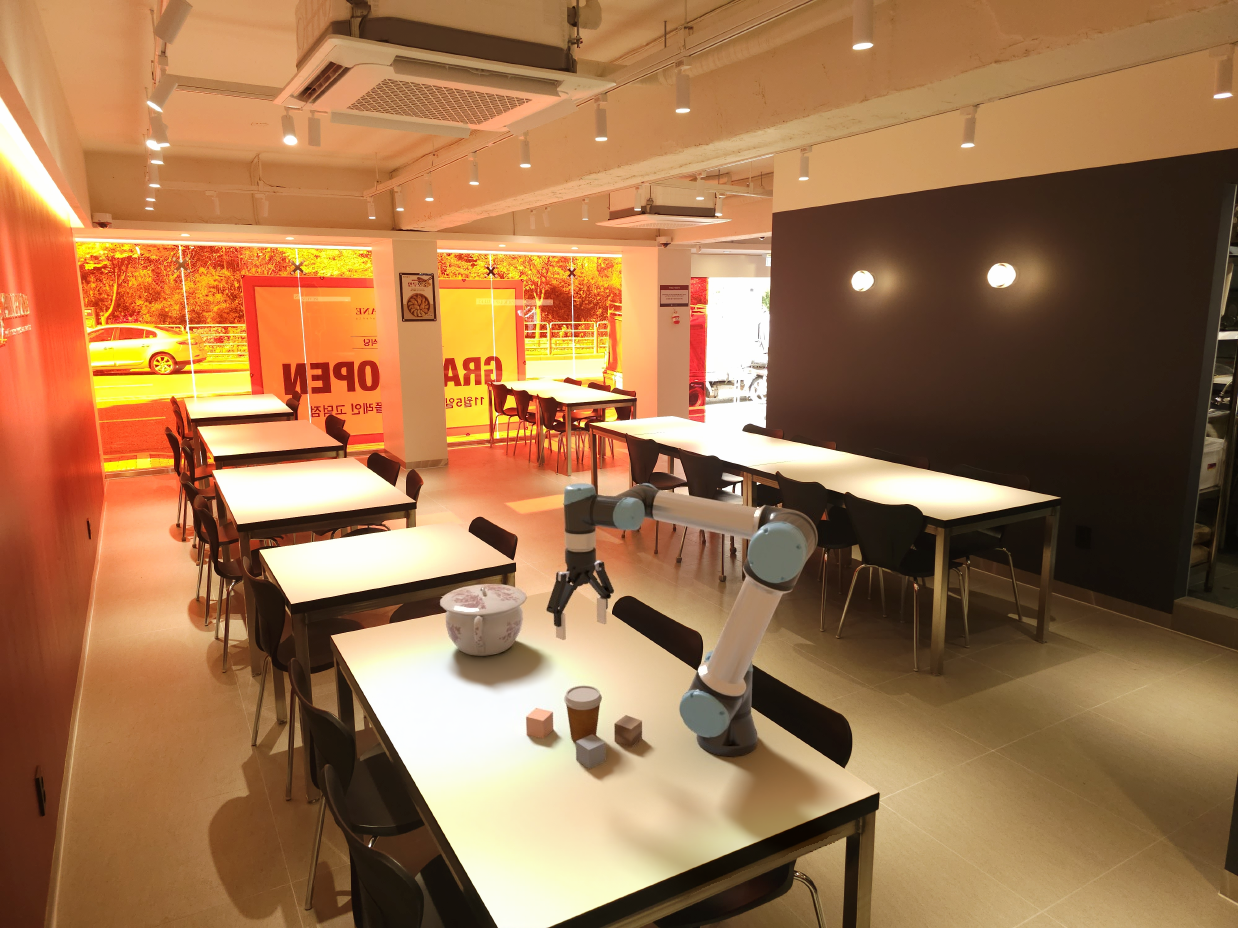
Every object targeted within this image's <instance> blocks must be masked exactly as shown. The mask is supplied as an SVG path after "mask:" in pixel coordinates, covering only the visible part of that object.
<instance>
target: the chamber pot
mask: <svg viewBox="0 0 1238 928" xmlns="http://www.w3.org/2000/svg"><path fill="white" fill-rule="evenodd" d="M527 599H528V597H527V593H526V592H525V591H523V590H522V589H520V588H519V587H516V586H512V585H507V584H501V583H500V584H497V583H496V584H495V583H485V584H484V583H483V584H474V585H468V586H463V587H459V588H457V589H454V590H452V591H449V592H448V593H446V594H444V596H442V598H440V600H439V602H440V603H439V605H440V607H442V609H443V610H445V611H446V613H445V626H446V631H447V634H448V637H449V639H450V640H451V641H452V642H453V644H454V646H455V647H456V648H457V649H458V650H459V651H461V652H462V653H464V654H466V655H470V656H480V657H487V656H492V655H493V656H494V655H496V654H497V655H498V654H500V653H503V652H505V651H507V650H508V649H510V648H511V647H513V644H514V643H515V641H516V640H517V638H518V636H519V634H520V633H521V630H522V625H523V620H524V614H523V613H524V612H523V608H522V605H524V604H525V602H526V600H527Z"/></svg>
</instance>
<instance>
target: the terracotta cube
mask: <svg viewBox="0 0 1238 928" xmlns="http://www.w3.org/2000/svg"><path fill="white" fill-rule="evenodd" d="M525 719H526V721H525V722H526V723H525V724H526V725H525V726H526V727H525V728H526V735H527V736H531V737H534V738H535V737H536V738H538V739H545V738H546V737H547V736H548V735H549V734H550V733H551V732H552V731H553V730H554V712H553V711H550V710H546V709H543V708H539V707H536V708H534V709H533V710H532V711H530V713H528V715H526V717H525Z"/></svg>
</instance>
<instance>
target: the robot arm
mask: <svg viewBox="0 0 1238 928" xmlns="http://www.w3.org/2000/svg"><path fill="white" fill-rule="evenodd" d="M563 492H564V493H563V503H562V504H563V510H564V511H563V512H564V515H563V517H564V547H566V548H565V549H564V563H565V564H566V565H565V566H566V571H563V572H562V571H560V570H559V571H557V572H556V573H555V574H556V575H555V583H554V585H553V589H552V592H551V594H550V597H549V600H548V604H547V606H546V612H547V613H550V614H552V615H553V625H554V627H555V638H558V639H560V640H562V641H565V640H566V639H567V635H566V633H567V632H566V631H567V630H566V629H567V627H566V625H567V624H566V613H565V612H564V610H565V608H566V607H567V605H568V603H569V601H570V599H571V597H572V596H573V595H574V592H575V591H576V590H577V589H578V587H581V586H584V585H588V584H589V585H590V586H591V587H592V588H593V590H594V591H595V593H597V594H598V596H596V622H597V623H599V624H603V625H607V621H608V619H607V610H608V608H609V607H608V605H609V600H610V599H611V597H612V595H613V594H614V592H615V590H614V587H613V585H612V582H611V580H610V578H609V576H608V573H607V571H606V568H605V562H604V561H601V560H599V559H597V549H596V546H597V545H596V544H597V541H596V540H597V539H596V538H597V537H596V535H597V534H596V531H597V530H596V529H597V528H596V527H600V528H607V529H615V530H620V531H637V530H639V529H640V528H641V525H642V524H643V522H644V520H645V519H649V520H654V521H659V522H664V523H669V524H675V525H678V526H684V527H688V528H693V529H698V530H702V531H707V532H712V533H718V534H723V535H727V536H732V537H737V538H740V539H741V538H742V539H746V540H750V541H749V544H748V549H747V556H746V559H745V561H744V563H743V566H742V570H743V572H744V575H745V578H744V581H743V583H742V586H741V588H740V590H739V592H738V594H737V596H736V599H735V602H734V603H733V606H732V608H731V610H730V612H729V614H728V617H727V619H726V621H725V624H724V625H723V629H722V631H721V632H720V635H719V637H718V640H717V642H716V644H715V646H714V649H713V650H710V651H708V652H707V653H705V656H704V661H703V662H702V663H701V664H699V666H698V668H697V670H696V673H695V675H694V677H693V680H692V682H691V683H690V686H689V688H688V689H687V691H686V692H685V693H684V694H683V695H682V697H681V700H680V702H679V706H678V707H679V708H678V709H679V715H680V717H681V719H682V721H683V724H684V725H685V726H686V727H687V729H689V730H690V731H691V732H693V733H694V734H696V741H697V744H698V745H699V746H700V747H701V748H702V749H703V750H705V751H707V752H709V753H710V754H713V755H715V756H721V757H739V756H740V757H741V756H744V755H747V754H749V753H752V752H753V751H754V750H756V748H757V746H758V737H759V735H758V731H757V728H756V726H755V722H754V719H753V714H752V694H753V690H752V689H753V672H754V668H753V659H754V657H755V655H756V653H757V650H758V647H759V645H760V644H761V642H762V639H763V637H764V636H765V633H766V630H767V629H768V626H769V624H770V622H771V620H772V619H773V615H774V614H775V612H776V609H777V607H778V605H779V603H780V600H781V598H782V596H783V594H788V593H791V592H792V591H793V590H794V588H795V585H796V583H797V582H798V580H799V577H800V575H801V573H802V571H803V568H804V566H805V564H806V562H807V561H808V559H809V558H810V557H811V556H812V554H813V553H814V551H815V550H816V547H817V545H818V540H819V539H818V538H819V537H818V530H817V527H816V525H815V524H814V522H813V521H812V520H811V518H809V516H808V515H806V514H804V513H802V512H801V511H798V510H795V509H790V508H783V507H778V506H772V505H768V504H767V505H766V504H764V505H763V506H761V507H753V506H749V505H743V504H742V505H741V504H739V503H738V504H737V503H732V502H727V501H726V502H725V501H721V500H716V499H710V498H705V497H698V496H693V495H690V494H683V493H679V492H677V493H676V492H671V491H667V490H661V489H659V488H657V487H655V485H653V484H651V483H646V482H645V483H644V482H643V483H642V484H641V483H639V484H636V485H633V486H632V487H631V488H629V489H627V490H625V491H623V492H621V493H619V494H617V495H604V494H603V495H602V494H597V493H596V487H595V485H593V484H591V483H586V482H585V483H583V482H582V483H581V482H580V483H578V482H577V483H572V484H569V485H567V486H565V488H564V491H563ZM594 572H595V573H596V575H597V577H596V576H595V574H594ZM598 580H599V581H598ZM611 594H612V595H611Z"/></svg>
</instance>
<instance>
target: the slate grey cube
mask: <svg viewBox="0 0 1238 928" xmlns="http://www.w3.org/2000/svg"><path fill="white" fill-rule="evenodd" d="M575 760H576V761H577V762H578V763H579V764H581V765H583V766H584V767H585V768H587V769H588V770H591V769H592V768H595V767H597V766H598V765H601V764H603V763H605V762H606V741H604V740H603V739H600V738H599V737H598V736H597V735H596V736H594V735H593V734H592V735H589V736H587V737H585V738H582V739H580V740H578V741H576V742H575Z"/></svg>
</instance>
